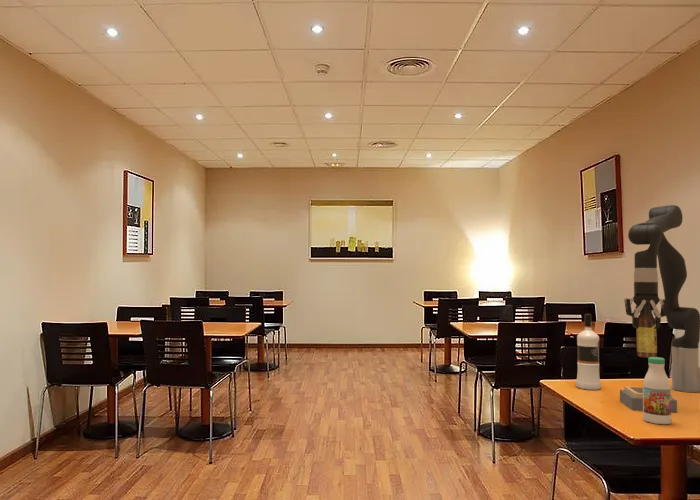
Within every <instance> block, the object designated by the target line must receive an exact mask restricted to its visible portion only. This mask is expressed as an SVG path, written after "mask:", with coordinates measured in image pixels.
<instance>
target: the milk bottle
mask: <svg viewBox="0 0 700 500" xmlns="http://www.w3.org/2000/svg"><path fill="white" fill-rule="evenodd" d="M647 359H648V360H647V362H648V369H647V372H646V374H645V376H644V378H643V383H642V387H643V411H642V415H643V416H642V417H643V421H645V422H647V423H651V424H656V425H670V424H671V422H672V412H671V395H672V393H671V390H672V389H671V388H672V386H671V383H670V380H669V377H668V375H667V373H666V371H665V366H666V365H665V363H666V359H665V358H664V357H658V356H656V357H649V358H647Z"/></svg>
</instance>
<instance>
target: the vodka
mask: <svg viewBox="0 0 700 500" xmlns="http://www.w3.org/2000/svg"><path fill="white" fill-rule="evenodd" d="M576 345H577V362H576V364H577V372H576V373H577V374H576V381H575V385H576V387H577V388H578V389H582V390H587V391H588V390H589V391H597V390H599V389H601V388H602V383H601V380H600V379H601V378H600V336H599V335H598V334H597V333H596V332H595V331H593V329H592V314H591V313H585V314H584V330H582V331H580V332H579V333H578V334H577V335H576Z"/></svg>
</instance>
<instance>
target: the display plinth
mask: <svg viewBox="0 0 700 500" xmlns="http://www.w3.org/2000/svg"><path fill="white" fill-rule="evenodd" d="M619 401H620V402H621V403H623V404H624V405H625V406H626V407H628V408H629V409H631V411H642V412H643V386H632V385H630V386H629V385H628V386H626V385H624V386H623V389H619ZM671 413H678V400H677V399H676V398H673V395H672V394H671Z"/></svg>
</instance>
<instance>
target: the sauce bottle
mask: <svg viewBox="0 0 700 500" xmlns="http://www.w3.org/2000/svg"><path fill="white" fill-rule="evenodd" d="M650 305H651V304H650V302H649V301H646V303H645V305H644V308H643V310H641V311H640V312H639V314H638V316H637V318H638V328H635V329H636V353H637V357H639V358H645V359H646V358H647V359H648V358H649V357H658V356H657V353H658V347H657V346H658V345H657V344H658V343H657V342H658V341H657V340H658V339H657V336H658V335H657V329H656V322H655V319H654V318H655V316H654V314H653V312H652V310H651V309H650Z"/></svg>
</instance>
